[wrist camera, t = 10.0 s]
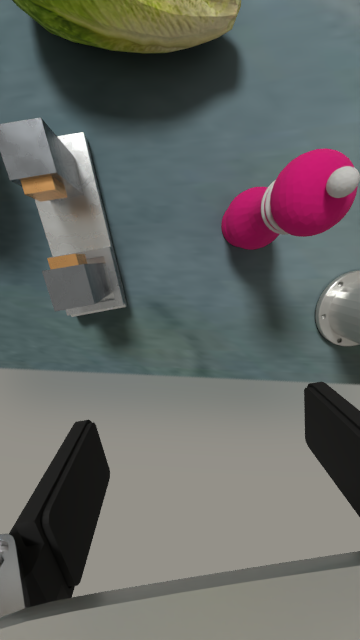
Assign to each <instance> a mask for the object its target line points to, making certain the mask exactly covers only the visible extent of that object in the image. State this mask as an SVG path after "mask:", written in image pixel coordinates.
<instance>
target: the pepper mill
mask: <svg viewBox="0 0 360 640" xmlns="http://www.w3.org/2000/svg"><path fill="white" fill-rule="evenodd" d="M359 178H360V175H359V172H358V171H357V169H355V168H354V166H353V164H352V162H351V161H350V160H349V158H347V157H346V156H345V155H344V154H342V153H340V152H338V151H336V150H331V149H316V150H313V151H310V152H307V153H304V154H302V155H300V156H299V157H297V158H295V159H294V160H292V161H291V162H290V163H289V164H288V165H287V166H286V167H285V168H284V169H283V170H282V171H281V172H280V174H279V175H278V177H277V179H276V180H275V181H274V182H273V183H272V184H271V185H270V186H269V187H254V188H250V189H248V190H246V191H244V192H242V193H240V194H239V195H238V196H237V197H235V199H234V200H233V201H232V202H231V204H230V206H229V208H228V209H227V210H226V212H225V214H224V216H223V219H222V232H223V235H224V237H225V239H226V240H227V241H228V242H229V243H230V244H232V245H233V246H236V247H241V248H244V249H249V250H253V249H258V248H262V247H264V246H266V245H268V244H270V243H271V242H272V241H273V240H275V239H276V238H277V236H278V235H279V234H291V235H294V236H312V235H316V234H319V233H322V232H324V231H326V230H328V229H330V228H331V227H333V226H334V225H335V224H337V223H338V222H339V221H340V220H341V219H342V218H343V217H344V216H345V215H346V213H347V212H348V211H349V209H350V207H351V205H352V203H353V201H354V199H355V196H356V192H357V185H358V183H359Z"/></svg>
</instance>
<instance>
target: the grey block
mask: <svg viewBox="0 0 360 640" xmlns="http://www.w3.org/2000/svg"><path fill="white" fill-rule="evenodd" d="M47 259H48V262H49V265H50V269H51V270H45V271H42V273H43V276H44V279H45V282H46V285H47V288H48V291H49V295H50V298H51V301H52V304H53V307H54V310H55V311H60V310H66V309H71V308H77V307H83V306H88V305H94V304H96V303H98V302H99V301H101V300H102V299H103V298H105V297H106V296H108V295H109V294H110V290H109V286H108V282H107V278H106V274H105V270H104V265H103V263H91V264H87V260H86V256H85V254H70V255H64V256H58V257H52V258H47Z"/></svg>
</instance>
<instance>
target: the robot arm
mask: <svg viewBox="0 0 360 640" xmlns="http://www.w3.org/2000/svg"><path fill="white" fill-rule="evenodd" d="M315 319H316V325H317V327H318V330H319V331H320V333H321V334H322V336H323V337H325V338H326V339H327V340H329V341H330V342H332V343H334V344H336V345H340V346H355V345H359V344H360V271H359V270H357V271H351V272H348V273H345V274H343V275H341V276H339V277H338V278H336V279H335V280H333V281H332V282H331V283H330V284H329V285H328V286H327V287H326V288H325V290H324V291H323V293H322V294H321V296H320V298H319V301H318V303H317V307H316V315H315ZM304 395H305V397H304V401H305V439H306V443H307V445H308V447H309V448H310V450H311V451H312V452H313V454H314V455H315V456H316V458H317V459H318V461H319V462H320V463H321V465H322V466H323V467H324V469H325V470H326V472H327V473H328V474H329V476H330V477H331V478H332V480H333V481H334V482H335V484H336V485H337V487H338V488H339V489H340V491H341V492H342V493H343V495H344V496H345V497H346V499H347V500H348V502H349V503H350V504H351V506H352V507H353V509H354V510H355V511H356V513H357V514H358V515H359V517H360V411H359V410H358V409H357V408H355V407H354V406H353V405H352V404H350V403H349V402H348V401H347V400H346V399H344V398H343V397H342V396H340V395H339V394H338V393H337V392H336V391H334V390H333V389H332V388H331V387H329V386H328V385H327V384H326V383H324V382H317V383H311V384H308V386H307V388H305V390H304ZM109 478H110V470H109V467H108V463H107V460H106V457H105V454H104V450H103V447H102V444H101V441H100V437H99V434H98V431H97V428H96V425H95V423H92V422H91V421H90V420H85V421H79V422H75V424H74V425H73V427H72V428H71V430H70V432H69V434H68V435H67V437H66V439H65V440H64V442H63V444H62V445H61V447H60V449H59V450H58V452H57V454H56V456H55V457H54V459H53V461H52V462H51V464H50V466H49V467H48V469H47V471H46V472H45V474H44V476H43V477H42V479H41V481H40V482H39V484H38V486H37V487H36V489H35V491H34V493H33V494H32V496H31V498H30V499H29V501H28V503H27V505H26V506H25V508H24V509H23V511H22V513H21V515H20V516H19V518H18V519H17V521H16V523H15V525H14V526H13V528H12V530H11V531H10V533H9V534H0V640H360V551H358V552H352V553H346V554H339V555H332V556H325V557H318V558H313V559H305V560H299V561H292V562H286V563H279V564H272V565H266V566H260V567H253V568H247V569H241V570H235V571H229V572H222V573H215V574H209V575H203V576H197V577H190V578H184V579H178V580H172V581H166V582H160V583H154V584H148V585H141V586H135V587H129V588H123V589H118V590H111V591H105V592H100V593H94V594H89V595H84V596H78V597H73V598H71V597H72V594H73V590H74V587H75V586H76V585H78V584H79V583H80V581H81V578H82V574H83V571H84V567H85V564H86V560H87V556H88V553H89V549H90V546H91V542H92V539H93V535H94V532H95V528H96V525H97V521H98V517H99V514H100V510H101V507H102V503H103V500H104V496H105V493H106V489H107V486H108V482H109Z"/></svg>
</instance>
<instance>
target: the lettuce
mask: <svg viewBox="0 0 360 640" xmlns="http://www.w3.org/2000/svg"><path fill="white" fill-rule="evenodd" d="M12 1H13V2H14V3H15V4H16V5H17V6H18V7H19V8H21V9H22V10H23V11H24V12H25V13H27V14H28V15H29V16H30V17H32V18H33V19H34V20H35V21H36V22H38V23H39V24H40V25H41V26H43V27H44V28H45V29H46V30H47V31H49V32H50V33H52V34H55V35H57V36H60V37H62V38H65V39H67V40H70V41H72V42H75V43H80V44H85V45H90V46H94V47H99V48H103V49H107V50H112V51H121V52H132V53H143V54H145V53H169V52H173V51H178V50H182V49H187V48H190V47H193V46H196V45H199V44H202V43H205V42H208V41H211V40H214V39H216V38H218V37H220V36H221V35H223V34H225V33H226V32H228V31H230V30H231V29H232V27H233V25H234V22H235V20H236V17H237V14H238V12H239V9H240V7H241V0H12Z"/></svg>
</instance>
